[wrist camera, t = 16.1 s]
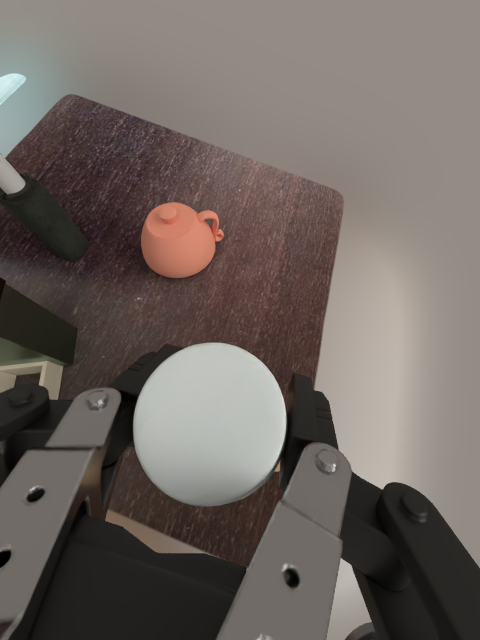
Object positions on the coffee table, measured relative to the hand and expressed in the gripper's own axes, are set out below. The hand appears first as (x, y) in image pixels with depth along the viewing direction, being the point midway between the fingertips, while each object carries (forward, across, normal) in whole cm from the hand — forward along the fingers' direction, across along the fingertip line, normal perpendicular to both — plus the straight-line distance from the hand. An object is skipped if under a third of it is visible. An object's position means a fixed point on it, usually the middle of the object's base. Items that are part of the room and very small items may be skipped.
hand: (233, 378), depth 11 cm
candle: (+34, +37, +4) cm, 51 cm away
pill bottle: (+2, 0, +4) cm, 5 cm away
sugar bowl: (+37, +16, +2) cm, 40 cm away
